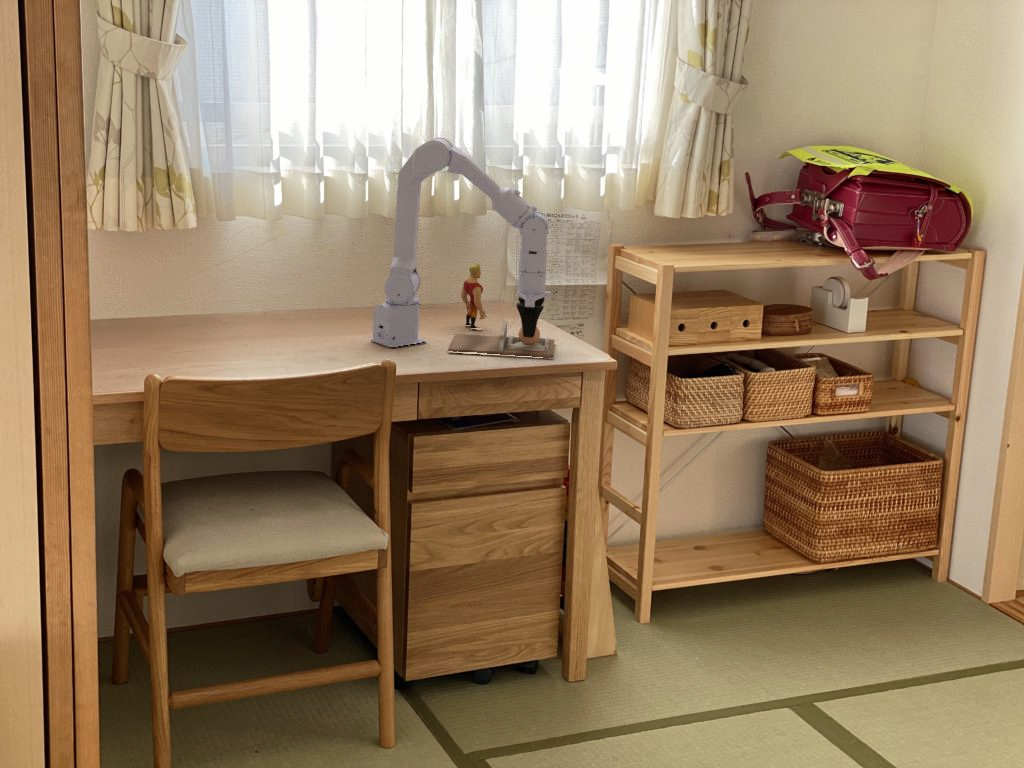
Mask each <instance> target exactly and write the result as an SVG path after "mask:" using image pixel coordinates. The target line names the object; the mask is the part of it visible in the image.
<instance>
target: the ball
mask: <svg viewBox="0 0 1024 768" xmlns="http://www.w3.org/2000/svg"><path fill="white" fill-rule="evenodd" d="M518 336H519V339H520V341H521V342H522V343H523V344H525V345H534V344H535V343H537V342H538V340H539V338H541V331H540V329H539V328H538V326H536V330H535V334H534V337H533V338H532V337H524V336H523V330H522V326H521V327H520V328H519V330H518Z"/></svg>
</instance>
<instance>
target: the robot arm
mask: <svg viewBox="0 0 1024 768" xmlns="http://www.w3.org/2000/svg"><path fill="white" fill-rule="evenodd" d="M446 167H447V171H446V172H447V173H449V174H450V173H451V174H457V175H461V176H463V177H464V178H465V179H466V180H468V181H469V182H470V183H471V184H473V186H475V187H477V188H478V189H479V190H480V191H481V192H482V193H484V194H485V195H486V196H487V197H488V198H489V199H490V200H491V208H492V209H493V210H494V212H496V213H497V214H499V216H501V217H502V218H503V219H504V220H505V221H506V222H507V223H508V224H509V225H511V226H512V227H513V228H514V229H519V234H520V237H521V247H520V248H519V264H518V279H517V280H518V283H517V286H518V287H517V290H516V295H517V296H518V298H517V299H518V301H519V302H517V303H516V308H517V311H518V314H519V316H520V320H521V327H522V330H523V336H524V337H532V338H533V337H534V334H535V330H536V327H538V326H537V325H538V320H539V318H540V315H541V313H542V312H543V310H544V302H545V301H546V300H545V299H546V298H545V297H550V296H551V291H549V290H546V279H547V277H546V275H547V259H548V258H547V257H548V248H547V247H548V238H547V237H548V234H549V228H550V223H549V220H548V218H547V217H546V216H545V214H544V213H543V212H541V211H539V210H538V207H536V205H533V206H532V205H531V204H530V203H528V202H527V200H525V199H524V198H523V197H522V196H521V191H520V190H518V188H516V189H513V188H512V186H511V187H510V186H508V187H502V186H500V184H498V183H497V182H496V181H495V180H494V179H493V178H492V177H491V176H490V175H489V174H488V173H487V172H486V171H485V170H484V169H483V168H482V167H481V166H480V165H479V164H478V163H477V162H476V161H475V160H474V159H472V157H470V155H468V154H467V153H466V152H465V151H463V150H462V149H461V148H459V146H456V145H453V143H452V142H451V141H450V140H448V139H447V138H445V137H435V138H432V139H431V140H428V141H426V142H424V143H423V144H421V145H420V146H418V147H417V148H415V149H414V151H413V152H412V154H411V155H410V156H409V158H408V159H407V160H406V162H405V163H404V164H403V165H402V167H401V168H400V170H399V171H398V175H397V176H398V177H397V191H396V193H397V194H396V209H395V211H396V212H395V224H394V225H395V226H394V241H393V242H394V244H393V255H392V261H391V264H390V270H389V276H388V277H387V280H386V281H385V283H384V292H385V295H386V297H385V301H384V302H383V303H381V304H380V303H379V304H378V305H376V306H375V308H374V310H373V313H372V315H373V316H372V338H370V341H371V342H373V343H377V344H378V345H382V346H385V347H387V348H390V347H396V348H399V347H398V346H402V347H404V346H403V345H408V346H410V345H409V344H414V343H420V342H426V341H427V340H426V339H423V338H421V337H419V326H420V325H419V322H420V314H419V313H420V298H419V297H418V295H417V294H416V293H417V292H418V291H419V288H420V286H421V277H420V275H419V272H418V259H417V249H418V234H419V221H420V220H419V219H420V218H419V217H420V207H421V206H420V205H421V204H420V203H421V191H422V190H421V189H422V183H423V181H425V180H426V179H427V178H428V177H430V176H431V175H432V174H435V173H437V172H441V171H442V170H444V169H445V168H446ZM426 343H427V342H426Z"/></svg>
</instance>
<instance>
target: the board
mask: <svg viewBox="0 0 1024 768" xmlns="http://www.w3.org/2000/svg"><path fill="white" fill-rule="evenodd" d="M507 333H508V320H503V322H502V326H501V330H500V333H499V335H483V334H479V335H478V334H464V333H454V335H453V338H452V339H451V342H450V345H449V346H448V351H453V352H457V351H458V352H477V353H487V354H500V355H515V356H532V357H543V358H553V357H554V355H555V354H554V353H555V344H554V343H555V341H556V340H555V339H554V338H553V339H551V338H550V337H540V338H539V340H538V342H537V343H535V344H534V345H525V344H523V343H522V342H521V341H520V339H519V335H509V336H508V335H507ZM448 351H447V352H448ZM553 359H554V358H553Z"/></svg>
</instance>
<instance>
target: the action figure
mask: <svg viewBox="0 0 1024 768" xmlns="http://www.w3.org/2000/svg"><path fill="white" fill-rule="evenodd" d="M468 270H469V274H470V276H468V277H467V279H466V280H465V281H464V282H463V284H462V288H461V292H460V298H461V300H462V302H463V303H464V304H465V308H466V311H467V313H466V316H465V325H471V326H469V327H470V328H479V327H478V326H476V323H475V322H476V320H477V316H478V311H479V316H480V318H479V320H485V318H487V315H486V310H484V309H483V303H482V301H481V300H482V293H483V292H484V287H483V286H482V284H481V283H479V281H478V279H480V278H481V274H482V273H481V271H482V269H481V265H480V264H479V263H476V264H474V265H470V267H469V269H468ZM468 296H469V297H470V298H469V299H468ZM474 324H475V325H474ZM470 328H469V329H470Z"/></svg>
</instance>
